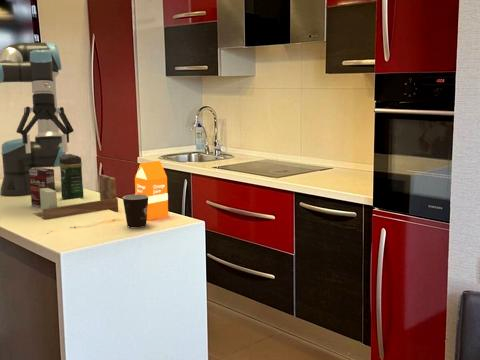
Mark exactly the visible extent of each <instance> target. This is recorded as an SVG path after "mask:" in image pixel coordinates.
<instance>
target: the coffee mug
mask: <svg viewBox="0 0 480 360" xmlns="http://www.w3.org/2000/svg"><path fill="white" fill-rule="evenodd" d="M148 197H149V196H148V195H143V194H135V193H134V194H128V195H124V196H123V197H122V201H123V207H124V215H125V220H126V226H127V227H128V226H129V227H128V228H130V227H140V228H142V227H141V226H144V227H146V226H147V221H148V220H147V209H148ZM145 225H146V226H145Z"/></svg>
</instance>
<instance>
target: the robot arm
mask: <svg viewBox="0 0 480 360" xmlns="http://www.w3.org/2000/svg"><path fill="white" fill-rule="evenodd" d="M61 70H62V62H61V57H60V51H59V48H58V45H57V44H56V43H54V42H46V41H45V42H18V43H17V42H15V43H12V44H9V45H7V46H5V47H4V48H2V49H1V50H0V84H1V83H2V84H3V83H31V93H32V97H31V98H32V107H30V106H25V107H24V108H23V115H22V117H21V120H20V121H19V124H18V126H17V128H16V133H17V134H20V135H21V137H22V138H17V139H10V140H7V141H5V142H3V143H1V156H2V157H1V158H2V168H3V178H2V181H1V184H0V185H1V186H0V195H2V196H7V197H17V196H19V197H21V196H28V195H31V189H30V176H29V169H33V168H37V167H38V168H57V167H60V163H59V162H60V157H61V156H62V155H65V154H67V153H68V151H69V150H68V143H70V134H71V133H73V132H74V128H73V126H72V125H71V122H70V120H69V119H68V117H67V115H66V114H65V110H64V107H63V106H60V107H58V100H57V99H58V98H57V87H56V83H57V82H56V77H57V76H58V75H59V71H61ZM31 113H33V114H34V115H33V117H32V118H31V120H30V121H28V120H29V119H28V118H29V117H30V114H31ZM58 116H59V117H60V119H61V120H60V119H58V118H59V117H58ZM61 121H62V122H61ZM27 122H28V124H27V125H26V123H27ZM36 123H37V130H38V132H37V134H36V135H35V136H34V141H33V140H32V141H31V137H30V134H29V132H30V131H31V129H32V128H33V127H34V125H35V124H36ZM25 125H26V126H25ZM59 130H60V131H61V132H62V133H63V134H61V133H60V132H59Z"/></svg>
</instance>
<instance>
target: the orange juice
mask: <svg viewBox="0 0 480 360" xmlns="http://www.w3.org/2000/svg"><path fill="white" fill-rule="evenodd" d="M134 189H135V190H134V191H135V193H134V194H143V195H148V196H149V197H148V209H147V219H148V220H147V221H151V220H150V219H153V220H155V219H154V218H157V219H160V218H159V217H162V218H165V216H166V217H169V194H168V176H167V173H166V171H165V169H164V166H163V165H162V162H161V160H155V161H154V160H153V161H146V162H140V163H139V167H138V169H137V172H136V173H135V177H134Z"/></svg>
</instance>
